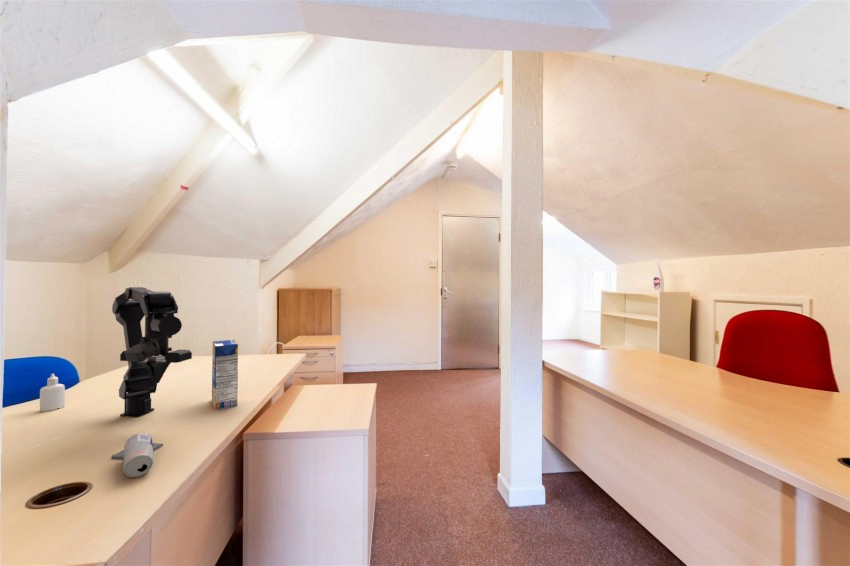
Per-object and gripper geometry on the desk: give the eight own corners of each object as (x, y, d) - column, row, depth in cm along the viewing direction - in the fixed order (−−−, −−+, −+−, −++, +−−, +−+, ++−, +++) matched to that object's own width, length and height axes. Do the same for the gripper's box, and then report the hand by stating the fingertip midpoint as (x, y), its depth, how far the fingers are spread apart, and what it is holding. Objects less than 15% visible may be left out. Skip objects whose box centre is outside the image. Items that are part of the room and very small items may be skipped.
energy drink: (136, 457, 86) (136, 482, 77) (118, 445, 83) (116, 470, 74) (157, 440, 88) (159, 462, 79) (140, 428, 86) (141, 449, 77)
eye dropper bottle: (41, 409, 115) (42, 373, 115) (65, 405, 118) (66, 371, 118) (38, 413, 111) (38, 376, 111) (63, 409, 115) (63, 374, 115)
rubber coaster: (111, 458, 84) (111, 455, 84) (138, 444, 92) (138, 442, 92) (138, 459, 84) (138, 457, 84) (162, 445, 91) (162, 443, 91)
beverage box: (214, 410, 116) (215, 346, 116) (211, 400, 125) (212, 341, 125) (237, 405, 120) (238, 344, 120) (232, 397, 129) (233, 339, 129)
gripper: (101, 335, 96) (101, 390, 96) (163, 337, 95) (162, 393, 95) (137, 330, 107) (137, 379, 107) (193, 331, 106) (192, 381, 106)
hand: (156, 383), depth 103 cm, fingers closed
